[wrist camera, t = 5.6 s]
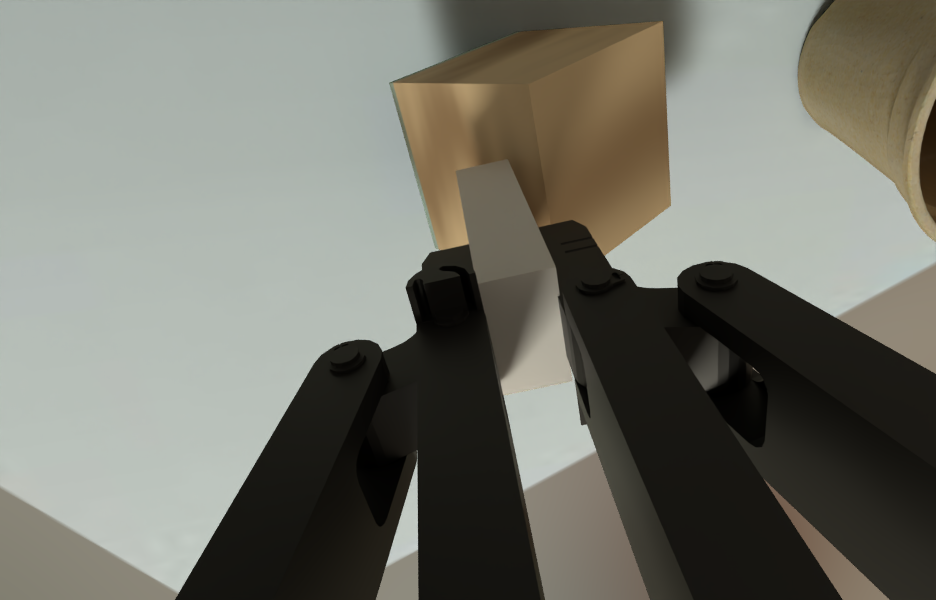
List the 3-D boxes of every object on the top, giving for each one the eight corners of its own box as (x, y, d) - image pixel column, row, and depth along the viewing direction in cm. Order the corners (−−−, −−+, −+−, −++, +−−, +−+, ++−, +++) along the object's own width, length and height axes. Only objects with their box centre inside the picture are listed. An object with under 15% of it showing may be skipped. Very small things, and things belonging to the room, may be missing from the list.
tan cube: (389, 82, 19) (528, 84, 15) (516, 31, 22) (662, 21, 18) (435, 248, 22) (561, 288, 18) (541, 183, 25) (670, 205, 21)
